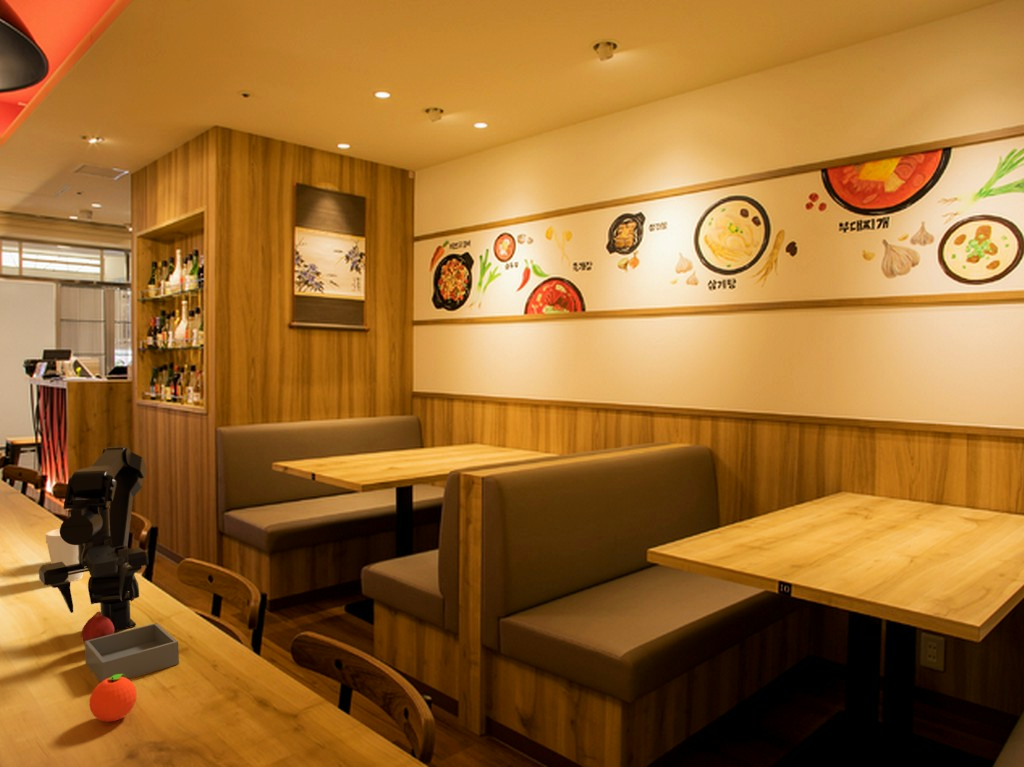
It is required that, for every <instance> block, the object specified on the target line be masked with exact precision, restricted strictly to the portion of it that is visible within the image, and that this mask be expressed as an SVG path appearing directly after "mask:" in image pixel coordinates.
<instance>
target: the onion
mask: <svg viewBox="0 0 1024 767" xmlns="http://www.w3.org/2000/svg"><path fill="white" fill-rule="evenodd" d="M114 630H115V629H114V625H113V623H112V622H111V620H110V619H108V618H107V617H105V616H102V615H101V611H96V612H95V614H93V615H92V617H90V618H89V619H88V620H87V621H86V623H85V624H84V626H83V627H82V629H81V635H80V636H81V639H82V642H83V643H84V644H85V641H88V640H91V639H95V638H99V637H103V636H107V635H111V634H115V631H114Z"/></svg>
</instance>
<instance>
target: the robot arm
mask: <svg viewBox="0 0 1024 767" xmlns="http://www.w3.org/2000/svg"><path fill="white" fill-rule="evenodd" d="M146 464H147V463H146V462H145V460H144V458H143V457H142V456H140V455H138V454H136V453H134V452H132V451H131V449H130V448H129V447H126V446H108V447H106V448H103V450H102V452H101V455H100V456H99V457H98V458H97V459H96V460H95V461H94V462H93V463H92V465H90V466H88V467H83V468H79V469H78V470H76V471H74V472H73V473H72V474H71V476H70V477H69V479H68V482H67V486H66V492H65V498H64V502H63V510H70V509H72V510H71V511H70V512H71V516H70V517H67V518H65V519H64V521H62V523H61V524H60V526H59V527H60V528H59V529H60V536H61V538H62V539H63V540H64V541H65V542H66V543H68V544H71V545H78V553H79V555H78V560H79V563H78V564H73V565H68V566H66V565H65V564H64V563H63V562H57V563H52V564H51V563H48V564H47V563H46V564H43V565H41V566H40V567H39V569H38V575H39V576H38V577H39V580H40V582H41V583H42V584H43V585H44V586H50V588H53V589H56V588H57V589H58V590H59V592H60V594H61V596H62V599H63V600H64V603H65V605H66V606H67V609H68V611H69V612H70V614H72V613H74V602H73V597H72V591H71V582H69V581H68V580H67V578H68V575H72V574H76V573H81V572H83V573H85V572H88V573H89V575H90V576H89V578H88V582H87V589H88V595H89V600H90V605H94V604H99V605H100V612H101V615H102V616H105V617H107V618H108V619H110V620H111V622H112V623H113V625H114V629H115V630H114V632H117V631H120V630H124V629H128V628H132V627H136V626H137V624H136V622H135V621H134V620H133V619H132V618H131V601H134V600H135V599H138V598H139V597H140V586H139V582H138V580H137V578H136V575H135V574H136V573H137V572H138V571H141V570H142V569H143V567H144V566H148V565H149V564H150V563H149V562H150V561H149V553H148V552H146V551H145V550H144V549H143V548H141V547H139V546H137V547H132V548H131V547H130V548H129V546H128V544H129V536H130V529H131V522H132V521H131V519H132V512H133V502H134V497H135V496H136V495H137V493H139V492H140V490H142V488H143V483H144V479H145V478H146V477H147V465H146Z"/></svg>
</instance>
